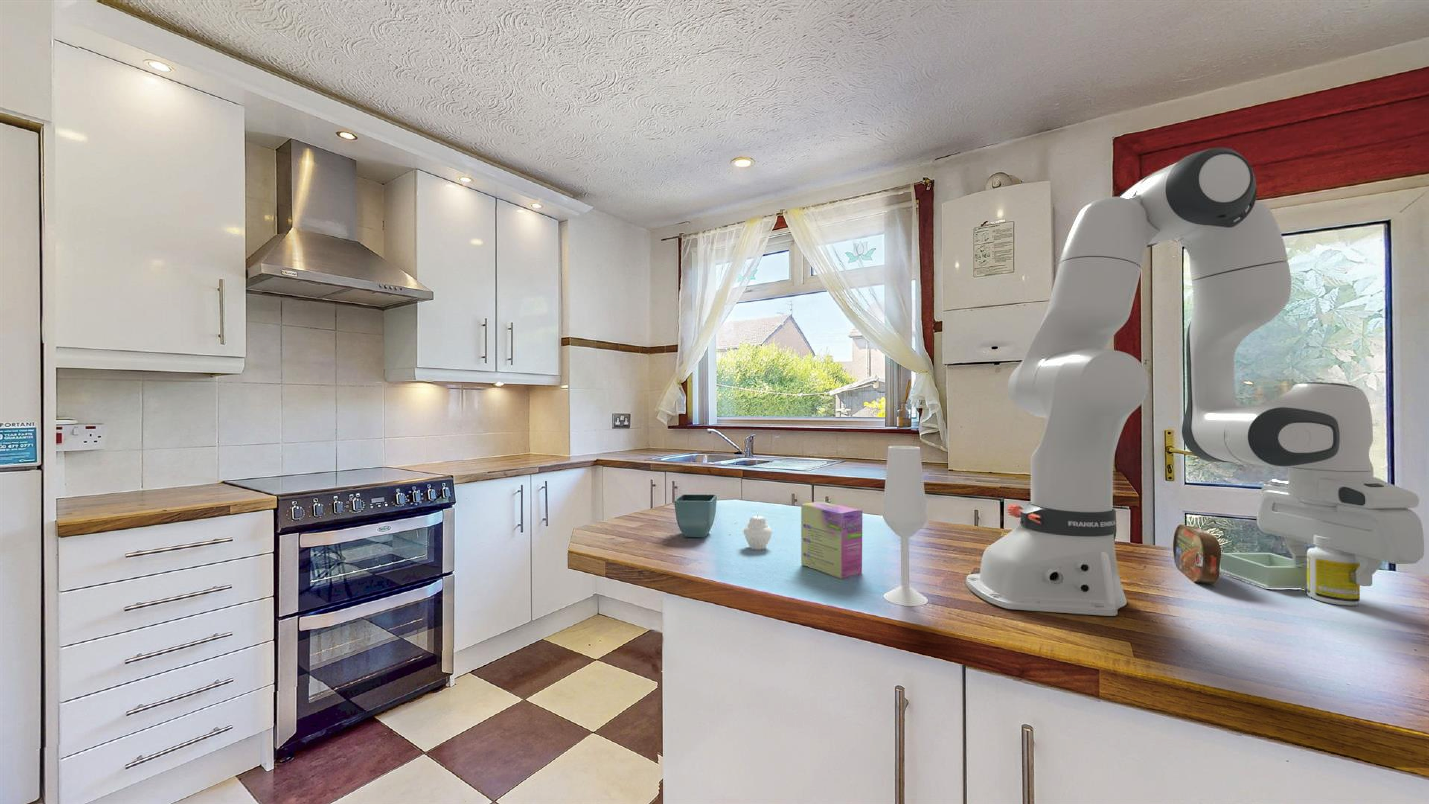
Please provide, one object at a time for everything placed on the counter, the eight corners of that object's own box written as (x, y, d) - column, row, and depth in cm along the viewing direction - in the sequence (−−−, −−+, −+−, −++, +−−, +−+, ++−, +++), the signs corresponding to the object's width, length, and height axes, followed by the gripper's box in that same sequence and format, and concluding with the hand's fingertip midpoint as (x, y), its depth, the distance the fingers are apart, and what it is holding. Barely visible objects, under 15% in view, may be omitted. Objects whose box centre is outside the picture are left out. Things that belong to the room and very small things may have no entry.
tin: (1171, 564, 103) (1170, 519, 103) (1192, 566, 102) (1192, 521, 102) (1200, 588, 90) (1199, 537, 90) (1225, 591, 89) (1224, 539, 89)
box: (863, 573, 99) (862, 508, 99) (841, 579, 96) (841, 512, 96) (822, 560, 108) (821, 500, 108) (800, 565, 105) (800, 503, 105)
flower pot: (673, 539, 125) (673, 500, 125) (682, 530, 134) (681, 493, 134) (711, 540, 124) (711, 501, 124) (717, 531, 133) (717, 494, 133)
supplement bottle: (1371, 608, 81) (1370, 541, 81) (1327, 605, 82) (1326, 540, 82) (1337, 595, 86) (1337, 533, 86) (1296, 593, 87) (1296, 531, 87)
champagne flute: (884, 588, 91) (883, 445, 91) (928, 593, 89) (926, 445, 89) (881, 603, 85) (880, 448, 85) (928, 608, 82) (926, 449, 82)
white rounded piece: (757, 542, 122) (756, 511, 122) (778, 547, 117) (777, 515, 117) (737, 547, 118) (737, 515, 118) (758, 553, 113) (758, 519, 113)
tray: (1267, 590, 89) (1267, 568, 89) (1217, 572, 98) (1217, 552, 98) (1326, 590, 88) (1325, 568, 88) (1270, 572, 98) (1270, 552, 98)
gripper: (1244, 477, 95) (1245, 556, 95) (1387, 498, 75) (1389, 599, 75) (1281, 476, 95) (1282, 556, 95) (1434, 498, 75) (1436, 599, 75)
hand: (1330, 575), depth 85 cm, fingers open, 7 cm apart
